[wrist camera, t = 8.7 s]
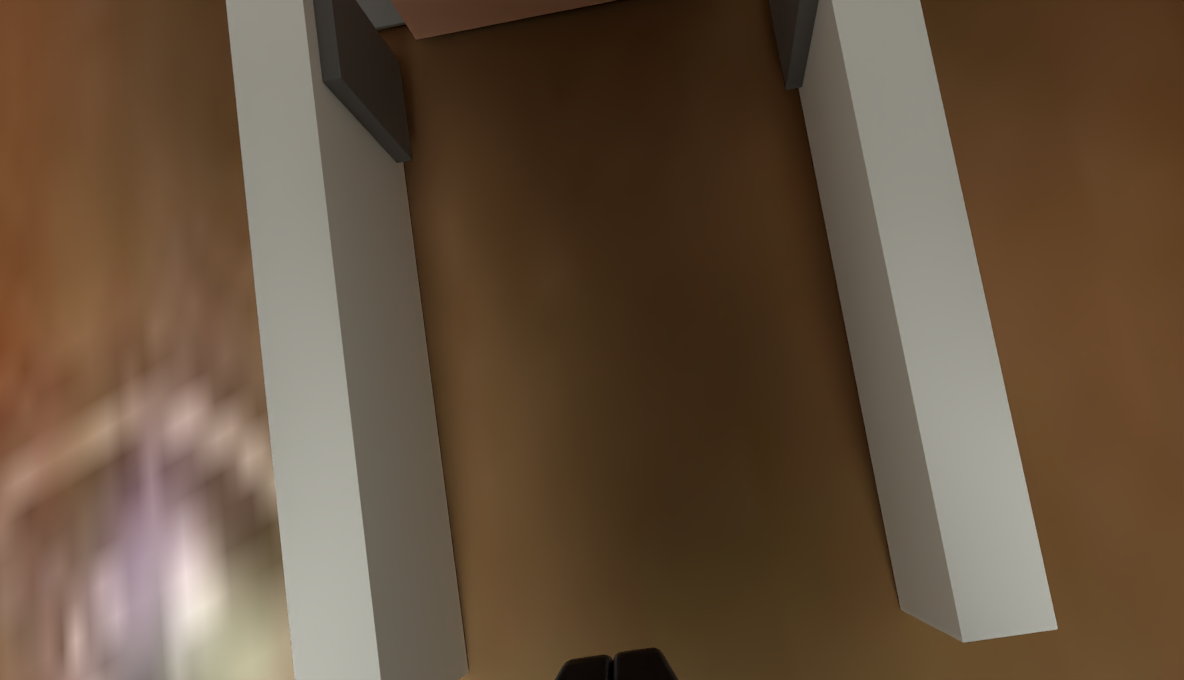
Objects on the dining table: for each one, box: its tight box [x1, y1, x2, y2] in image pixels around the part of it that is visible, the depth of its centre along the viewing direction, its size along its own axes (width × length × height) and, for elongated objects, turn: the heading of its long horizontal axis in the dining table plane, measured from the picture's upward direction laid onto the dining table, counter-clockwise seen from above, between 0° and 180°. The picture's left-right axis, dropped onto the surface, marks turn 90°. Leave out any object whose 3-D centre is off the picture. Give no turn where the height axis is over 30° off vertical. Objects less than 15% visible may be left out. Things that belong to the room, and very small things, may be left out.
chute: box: [226, 0, 1058, 680], centre depth 19 cm, size 20×10×5 cm, turn 9°
